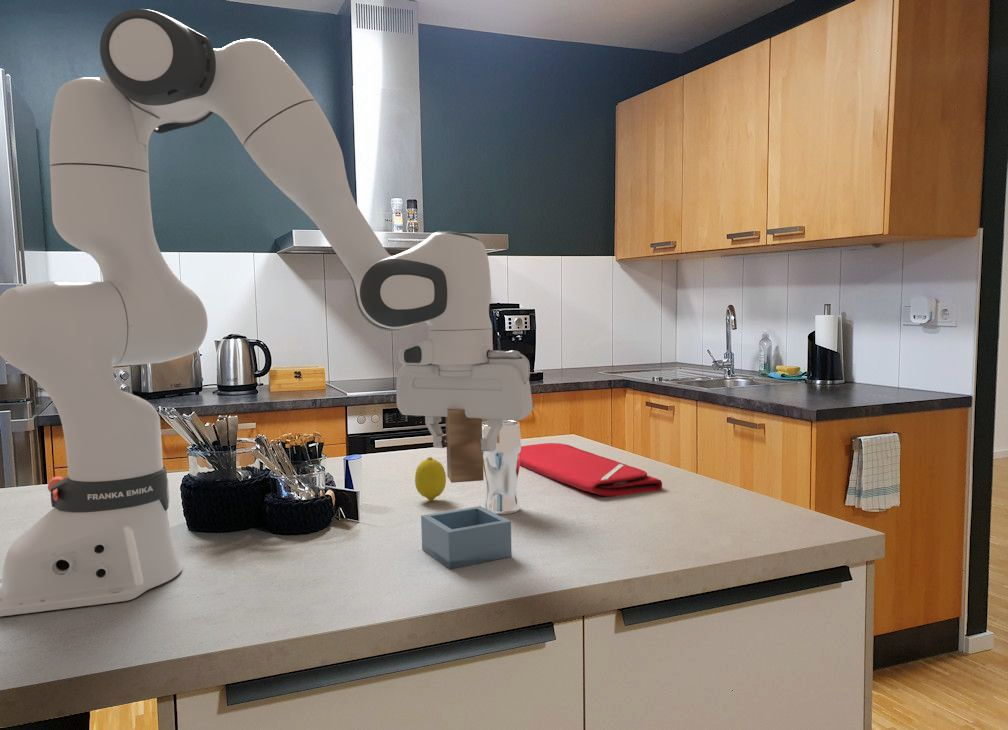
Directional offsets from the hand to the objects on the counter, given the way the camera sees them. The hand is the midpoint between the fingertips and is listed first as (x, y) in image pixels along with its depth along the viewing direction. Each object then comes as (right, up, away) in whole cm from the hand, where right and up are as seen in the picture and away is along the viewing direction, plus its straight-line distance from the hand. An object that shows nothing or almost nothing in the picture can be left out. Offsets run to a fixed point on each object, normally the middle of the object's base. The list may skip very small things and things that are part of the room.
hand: (464, 449), depth 106 cm
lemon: (-8, -13, +30) cm, 34 cm away
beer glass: (+5, -13, +23) cm, 27 cm away
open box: (0, -15, +1) cm, 15 cm away
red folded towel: (+20, -11, +51) cm, 56 cm away
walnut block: (0, -4, 0) cm, 4 cm away
